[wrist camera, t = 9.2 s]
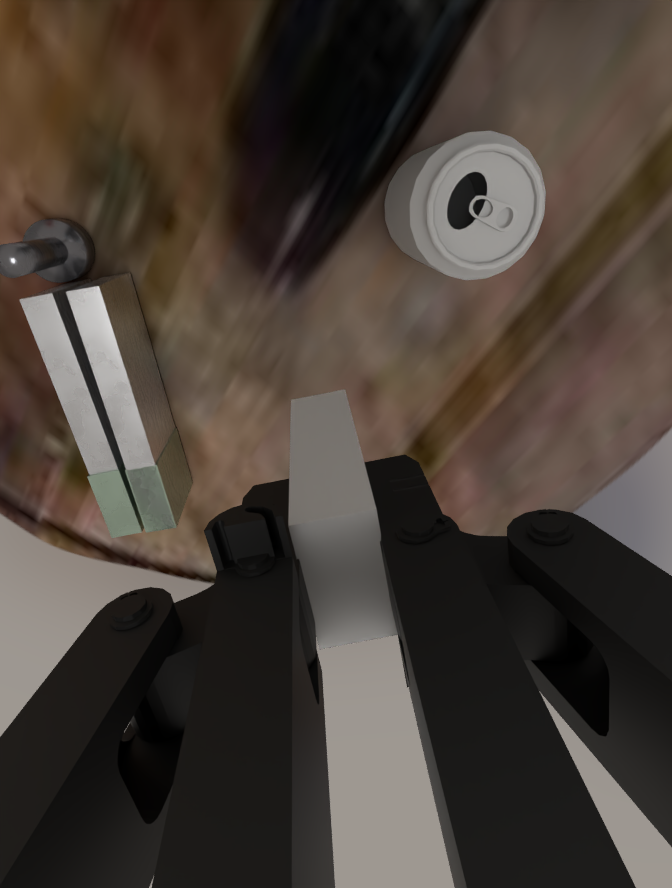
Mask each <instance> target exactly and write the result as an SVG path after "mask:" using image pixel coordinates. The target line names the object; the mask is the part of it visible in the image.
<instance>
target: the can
mask: <svg viewBox="0 0 672 888" xmlns="http://www.w3.org/2000/svg"><path fill="white" fill-rule="evenodd" d="M545 195H546V190H545V186H544V182H543V178H542V173H541V169H540V168H539V166H538V164H537V163H536V161H535V159H534V158H533V156H532V155H531V153H530V151H529V150H528V149H527V148H525V147H524V146H523V145H521V144H520V143H519V142H518V141H516V140H515V139H514V138H512V137H510V136H507V135H504V134H500V133H497V132H494V131H479V132H468V133H465V134H463V135H460V136H458V137H455V138H453V139H450V140H448V141H445V142H442V143H440V144H437V145H435V146H432V147H430V148H427V149H425V150H423V151H421V152H419V153H416V154H414V155H412V156H411V157H410V158H409V159H408V160H407V161H406V162H405V163H403V164H402V165H401V166H400V167H399V168H398V170H397V172H396V173H395V175H394V177H393V178H392V180H391V182H390V183H389V186H388V190H387V194H386V198H385V202H384V203H385V221H386V224H387V227H388V230H389V233H390V236H391V238H392V239H393V240H394V242H395V243H396V244H397V246H398V247H399V248H400V250H401V251H403V252H404V253H406V254H407V255H409V256H410V257H412V258H413V259H415V260H417V261H419V262H421V263H423V264H425V265H427V266H429V267H431V268H433V269H435V270H437V271H439V272H441V273H443V274H445V275H447V276H451V277H455V278H459V279H463V280H474V279H485V278H489V277H491V276H493V275H496V274H498V273H500V272H503V271H505V270H507V269H508V268H509V267H510V266H512V265H513V264H514V263H515V262H517V261H518V260H519V259H520V258H521V257H523V256H524V254H525V253H526V251H527V250H528V248H529V247H530V246H531V244H532V243H533V241H534V240H535V238H536V237H537V234H538V231H539V228H540V225H541V223H542V220H543V217H544V211H545Z"/></svg>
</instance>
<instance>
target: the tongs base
mask: <svg viewBox="0 0 672 888" xmlns="http://www.w3.org/2000/svg"><path fill="white" fill-rule="evenodd" d="M94 260H95V248H94V244H93V241H92V239H91V237H90V236H89V234H88V233H87V232H86V230H85V229H84V228H82V227H81V226H80V225H79V224H77V223H75V222H73V221H71V220H68V219H46V220H41V221H38V222H36V223H34V224H33V225H31V226H30V227H29V228H28V230H27V231H26V233H25V235H24V239H23V242H16V243H9V244H3V245H0V273H1V274H2V275H4V276H6V277H10V278H16V277H19V276H23V275H27V274H30V273H34V272H35V273H36V274H38V275H39V276H40V277H42V278H44V279H46V280H48V281H52V282H57V283H62V282H68V281H71V280H74V279H76V278H79V277H81V276H83V275H85V274H86V273H87V272H88V271H89V270H90V269H91V267H92V266H93V263H94ZM89 282H91V279H86V280H81V281H76V282H71V283H66V284H62V285H59V286H56V287H53V288H51V289H48V290H45V291H42V292H39V293H37V294H34V295H31V296H28V297H25V298H23V299H20V302H21V305H22V307H23V310H24V312H25V315H26V317H27V320H28V322H29V325H30V327H31V330H32V332H33V335H34V337H35V340H36V342H37V345H38V347H39V350H40V352H41V355H42V357H43V360H44V362H45V365H46V367H47V370H48V372H49V375H50V377H51V380H52V382H53V385H54V387H55V390H56V392H57V395H58V397H59V400H60V402H61V405H62V407H63V410H64V412H65V415H66V417H67V420H68V422H69V425H70V427H71V430H72V432H73V435H74V437H75V440H76V442H77V445H78V447H79V450H80V452H81V455H82V457H83V460H84V462H85V465H86V467H87V470H88V472H89V475H88V476H87V477H88V480H89V482H90V485H91V487H92V490H93V492H94V495H95V497H96V500H97V502H98V505H99V507H100V510H101V512H102V514H103V517H104V519H105V522H106V524H107V527H108V529H109V532H110V534H111V537H112V538H114V537H119V536H125V535H130V534H135V533H140V532H142V531H143V529H144V525H143V522H142V519H141V516H140V513H139V510H138V507H137V504H136V501H135V499H134V496H133V493H132V490H131V487H130V484H129V481H128V478H127V475H126V472H125V470H126V468H125V465H124V462H123V459H122V456H121V453H120V450H119V447H118V444H117V441H116V438H115V435H114V432H113V429H112V426H111V423H110V420H109V417H108V415H107V412H106V409H105V406H104V403H103V400H102V397H101V394H100V391H99V388H98V385H97V382H96V379H95V376H94V373H93V370H92V367H91V364H90V362H89V359H88V356H87V353H86V350H85V347H84V344H83V341H82V338H81V335H80V332H79V329H78V326H77V323H76V320H75V317H74V314H73V311H72V308H71V306H70V303H69V300H68V297H67V294H66V291H69V290H71V289H74V288H76V287H79V286H81V285H84V284H86V283H89Z"/></svg>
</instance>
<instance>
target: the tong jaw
mask: <svg viewBox="0 0 672 888" xmlns="http://www.w3.org/2000/svg"><path fill="white" fill-rule="evenodd" d="M66 294H67V297H68V300H69V303H70V306H71V308H72V311H73V314H74V317H75V320H76V323H77V326H78V329H79V332H80V335H81V338H82V341H83V344H84V347H85V350H86V353H87V356H88V359H89V362H90V364H91V367H92V370H93V373H94V376H95V379H96V382H97V385H98V388H99V391H100V394H101V397H102V400H103V403H104V406H105V409H106V412H107V415H108V417H109V420H110V423H111V426H112V429H113V432H114V435H115V438H116V441H117V444H118V447H119V450H120V453H121V456H122V459H123V462H124V465H125V468H126V470H125V472H126V475H127V478H128V481H129V484H130V487H131V490H132V493H133V496H134V499H135V501H136V504H137V507H138V510H139V513H140V516H141V519H142V522H143V525H144V528H145V531H146V532H152V531H158V530H164V529H170V528H176V527H177V525H178V522H179V519H180V516H181V514H182V511H183V508H184V505H185V503H186V500H187V497H188V494H189V492H190V489H191V486H192V483H193V482H192V479H191V475H190V472H189V468H188V465H187V462H186V458H185V455H184V451H183V448H182V444H181V441H180V437H179V434H178V431H177V427H176V428H175V425H174V421H173V418H172V414H171V411H170V408H169V404H168V401H167V397H166V394H165V390H164V387H163V383H162V380H161V377H160V373H159V370H158V366H157V363H156V359H155V356H154V353H153V349H152V346H151V342H150V339H149V335H148V332H147V329H146V325H145V322H144V318H143V315H142V311H141V308H140V304H139V301H138V298H137V294H136V291H135V287H134V284H133V280H132V277H131V274H130V273H124V274H118V275H112V276H106V277H102V278H99V279H97V280H94V281H91V282H89V283H86V284H84V285H81V286H79V287H76V288H74V289H71V290H69V291H66Z"/></svg>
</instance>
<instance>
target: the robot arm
mask: <svg viewBox="0 0 672 888" xmlns="http://www.w3.org/2000/svg"><path fill="white" fill-rule="evenodd" d="M204 532H205V535H206V538H207V541H208V544H209V548H210V551H211V554H212V557H213V560H214V563H215V566H216V569H217V574H216V579H215V584H214V585H212V586H211V587H209V588H208V589H206V590H204V591H202V592H200V593H198V594H196V595H193V596H191V597H188V598H186V599H183V600H181V601H178V602H176V603H174V602H173V599H172V597H171V594H170V593H168V592H167V591H165V590H164V589H160V588H152V587H150V588H143V589H138V590H134V591H131V592H129V593H125V594H123V595H121V596H119V597H118V598H116V599H115V600H113V601H111V602H110V603H108V604H107V605H106V606H105V607H104V608H103V609H102V610H100V611H99V612H98V613H97V614H96V616H95V617H94V618H93V619H92V621H91V622H90V623H89V624H88V626H87V627H86V628H85V630H84V631H83V632H82V633H81V635H80V636H79V637H78V638H77V640H76V641H75V642H74V644H73V645H72V646H71V647H70V649H69V650H68V651H67V653H66V654H65V655H64V656H63V658H62V659H61V660H60V662H59V663H58V664H57V665H56V667H55V668H54V669H53V670H52V672H51V673H50V674H49V676H48V677H47V678H46V679H45V681H44V682H43V683H42V685H41V686H40V687H39V688H38V690H37V691H36V692H35V693H34V695H33V696H32V697H31V699H30V700H29V701H28V702H27V704H26V705H25V706H24V707H23V709H22V710H21V711H20V713H19V714H18V715H17V716H16V718H15V719H14V720H13V722H12V723H11V724H10V725H9V727H8V728H7V729H6V731H5V732H4V733H3V734H2V736H1V737H0V888H149V886H150V883H151V881H152V879H153V876H154V879H153V884H152V888H335V880H334V864H333V847H332V830H331V814H330V798H329V780H328V764H327V747H326V731H325V714H324V698H323V681H322V670H321V666H320V661H319V658H318V654H317V650H316V637H317V641H318V645H319V649H325V648H331V647H336V646H341V645H346V644H352V643H357V642H362V641H367V640H373V639H377V638H383V637H388V636H393V635H398V638H399V644H400V650H401V655H402V661H403V667H404V672H405V678H406V683H407V687H409V690H410V694H411V699H412V703H413V707H414V712H415V716H416V721H417V725H418V730H419V734H420V738H421V742H422V747H423V751H424V756H425V760H426V764H427V769H428V773H429V778H430V782H431V786H432V791H433V795H434V799H435V804H436V808H437V812H438V816H439V821H440V825H441V829H442V834H443V838H444V843H445V847H446V852H447V856H448V860H449V865H450V869H451V873H452V878H453V882H454V887H455V888H636V887H635V885H634V883H633V881H632V879H631V877H630V875H629V873H628V871H627V869H626V867H625V865H624V863H623V861H622V859H621V857H620V854H619V853H618V850H617V848H616V847H615V845H614V842H613V840H612V839H611V836H610V834H609V832H608V830H607V828H606V826H605V824H604V822H603V820H602V818H601V816H600V814H599V812H598V810H597V808H596V806H595V804H594V802H593V800H592V798H591V796H590V794H589V792H588V790H587V787H586V786H585V783H584V781H583V779H582V777H581V775H580V773H579V771H578V769H577V767H576V765H575V763H574V761H573V759H572V757H571V755H570V753H569V751H568V749H567V747H566V745H565V743H564V741H563V739H562V737H561V735H560V733H559V731H558V729H557V727H556V725H555V723H554V721H553V719H552V716H551V715H550V712H549V710H548V708H547V707H546V704H545V702H544V701H543V698H542V696H541V694H540V692H541V693H542V694H543V696H544V697H545V698H546V699H547V700H548V702H549V703H550V704H551V705H552V706H553V707H554V709H555V710H556V711H557V712H558V713H559V715H560V716H561V717H562V718H563V719H564V720H565V722H566V723H567V724H568V725H569V726H570V728H571V729H572V730H573V731H574V732H575V733H576V735H577V736H578V737H579V738H580V739H581V741H582V742H583V743H584V744H585V745H586V746H587V748H588V749H589V750H590V751H591V752H592V753H593V755H594V756H595V757H596V758H597V759H598V761H599V762H600V763H601V764H602V765H603V766H604V768H605V769H606V770H607V771H608V772H609V773H610V775H611V776H612V777H613V778H614V779H615V781H616V782H617V783H618V784H619V785H620V786H621V788H622V789H623V790H624V791H625V792H626V794H627V795H628V796H629V797H630V798H631V799H632V801H633V802H634V803H635V804H636V805H637V807H638V808H639V809H640V810H641V811H642V812H643V814H644V815H645V816H646V817H647V818H648V820H649V821H650V822H651V823H652V824H653V825H654V827H655V828H656V829H657V830H658V831H659V833H660V834H661V835H662V836H663V837H664V838H665V840H666V841H667V842H668V843H669V844H670V845H671V847H672V576H671V575H669V574H668V573H666V572H665V571H663V570H662V569H660V568H658V567H657V566H656V565H654V564H652V563H651V562H650V561H648V560H646V559H645V558H643V557H642V556H640V555H639V554H637V553H636V552H634V551H633V550H631V549H630V548H628V547H627V546H625V545H623V544H622V543H621V542H619V541H618V540H616V539H615V538H613V537H612V536H610V535H609V534H607V533H606V532H604V531H603V530H601V529H599V528H598V527H597V526H595V525H594V524H592V523H591V522H589V521H588V520H586V519H584V518H582V517H580V516H578V515H576V514H573V513H570V512H565V511H560V510H552V509H548V510H546V509H545V510H537V511H532V512H528V513H524V514H522V515H520V516H519V517H517V518H515V519H513V521H512V522H511V523H510V524H509V526H508V527H507V536H478V535H472V534H468V533H464V532H462V531H460V530H459V528H458V526H457V524H456V523H455V522H454V521H453V520H452V519H451V518H450V517H448V516H446V515H443V514H442V511H441V509H440V507H439V505H438V503H437V501H436V499H435V497H434V494H433V492H432V490H431V488H430V486H429V485H428V482H427V480H426V477H425V476H424V473H423V471H422V469H421V467H420V465H419V462H417V461H415V460H413V459H412V458H410V457H408V456H407V455H400V456H395V457H390V458H385V459H380V460H375V461H369V462H364V460H363V456H362V452H361V448H360V445H359V441H358V437H357V433H356V429H355V426H354V422H353V418H352V414H351V410H350V407H349V403H348V399H347V395H346V391H345V389H344V390H339V391H334V392H329V393H324V394H319V395H314V396H308V397H303V398H298V399H293V400H291V427H290V473H289V479H285V480H280V481H275V482H270V483H265V484H259V485H254V486H253V487H252V488H251V490H250V491H249V492H248V493H247V494H246V495H245V497H244V498H243V502H242V505H240V506H237V507H233V508H231V509H229V510H227V511H225V512H223V513H221V514H219V515H217V516H216V517H215V518H214V519H213V520H211V521H210V522H209V523H208V525H207V527H206V528H205V530H204ZM539 691H540V692H539ZM129 722H130V724H129ZM128 724H129V725H128ZM127 726H128V727H127ZM126 728H127V729H126ZM125 729H126V731H125ZM124 731H125V732H124Z"/></svg>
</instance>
